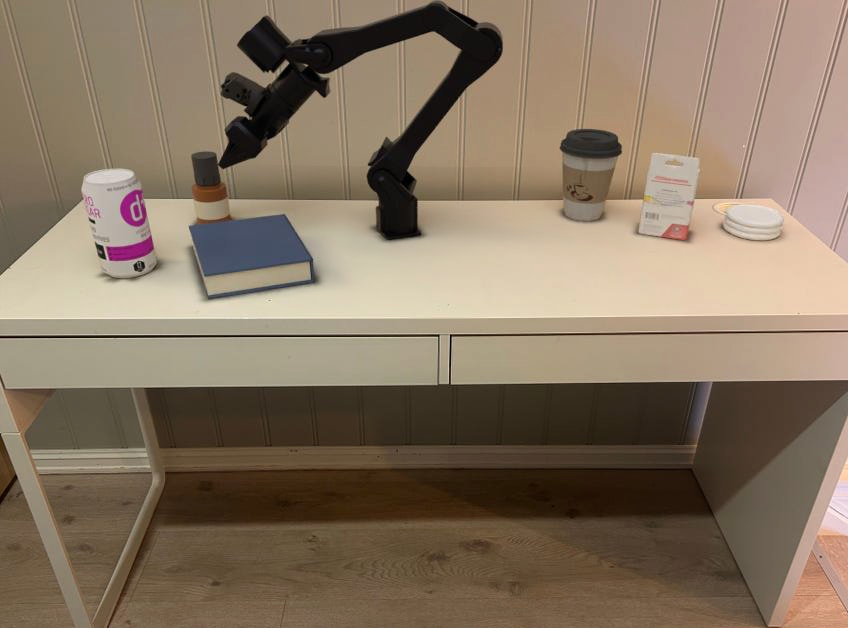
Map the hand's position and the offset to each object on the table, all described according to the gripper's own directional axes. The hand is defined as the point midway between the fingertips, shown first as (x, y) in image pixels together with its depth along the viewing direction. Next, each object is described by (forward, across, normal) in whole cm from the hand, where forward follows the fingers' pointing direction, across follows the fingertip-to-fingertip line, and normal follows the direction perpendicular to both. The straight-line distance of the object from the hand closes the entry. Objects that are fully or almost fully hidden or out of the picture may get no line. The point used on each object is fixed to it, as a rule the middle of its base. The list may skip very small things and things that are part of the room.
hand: (229, 158), depth 126 cm
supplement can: (+16, +20, +1) cm, 26 cm away
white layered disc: (-58, -8, +74) cm, 95 cm away
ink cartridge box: (-46, -5, +63) cm, 78 cm away
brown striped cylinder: (+12, 0, +5) cm, 13 cm away
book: (+3, +16, +14) cm, 22 cm away
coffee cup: (-36, -12, +53) cm, 66 cm away
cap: (+6, 0, 0) cm, 6 cm away
